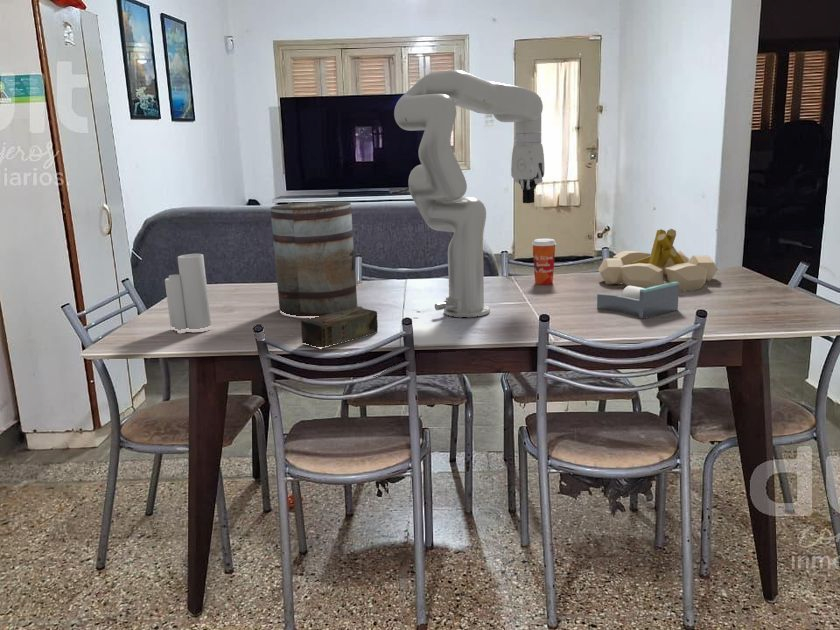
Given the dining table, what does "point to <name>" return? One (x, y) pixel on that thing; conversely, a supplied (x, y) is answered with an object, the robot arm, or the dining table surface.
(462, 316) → the robot arm
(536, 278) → the paper cup
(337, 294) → the barrel
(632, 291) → the roll
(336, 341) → the olive brown box
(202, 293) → the vase
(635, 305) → the holder
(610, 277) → the campfire
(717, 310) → the dining table surface
